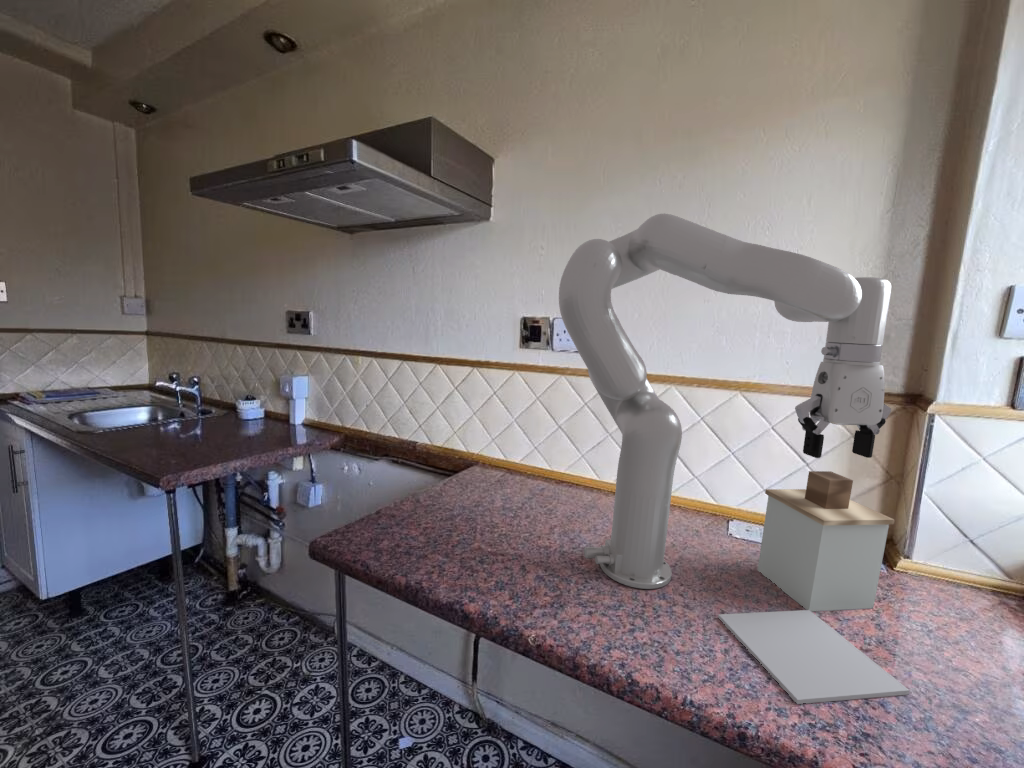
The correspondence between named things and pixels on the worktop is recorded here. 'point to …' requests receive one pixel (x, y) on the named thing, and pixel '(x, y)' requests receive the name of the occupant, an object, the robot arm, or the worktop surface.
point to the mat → (810, 657)
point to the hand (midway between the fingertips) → (836, 455)
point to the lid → (829, 501)
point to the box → (821, 559)
